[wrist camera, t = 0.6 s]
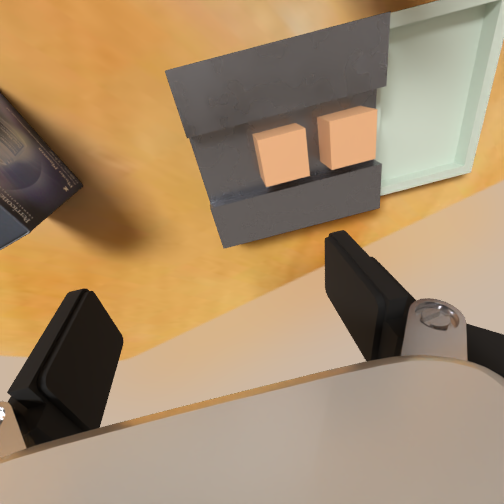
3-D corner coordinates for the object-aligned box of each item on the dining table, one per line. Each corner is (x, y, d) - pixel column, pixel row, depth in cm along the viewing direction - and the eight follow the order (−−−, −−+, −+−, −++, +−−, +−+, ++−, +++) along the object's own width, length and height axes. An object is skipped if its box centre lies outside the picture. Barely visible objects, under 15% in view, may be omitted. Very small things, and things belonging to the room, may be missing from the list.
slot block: (361, 21, 23) (390, 11, 20) (359, 192, 32) (379, 208, 29) (171, 71, 24) (164, 70, 20) (221, 228, 32) (223, 248, 29)
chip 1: (295, 122, 24) (305, 128, 22) (300, 166, 27) (309, 175, 24) (252, 134, 24) (257, 140, 22) (260, 176, 27) (266, 187, 24)
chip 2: (360, 105, 24) (377, 109, 22) (359, 150, 27) (375, 158, 24) (316, 116, 24) (329, 121, 22) (320, 161, 27) (331, 170, 24)
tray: (496, -14, 23) (518, -21, 22) (457, 167, 32) (470, 172, 31) (361, 21, 23) (373, 17, 22) (359, 192, 32) (367, 199, 31)
